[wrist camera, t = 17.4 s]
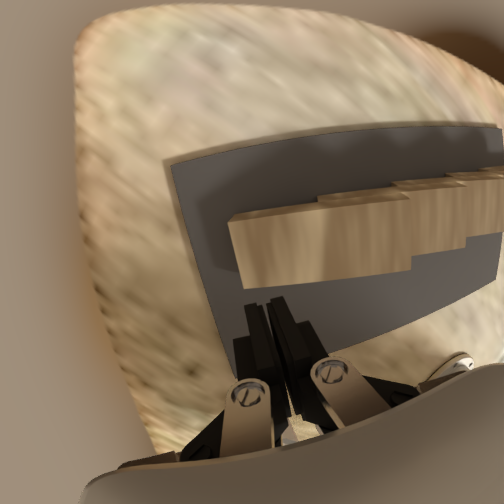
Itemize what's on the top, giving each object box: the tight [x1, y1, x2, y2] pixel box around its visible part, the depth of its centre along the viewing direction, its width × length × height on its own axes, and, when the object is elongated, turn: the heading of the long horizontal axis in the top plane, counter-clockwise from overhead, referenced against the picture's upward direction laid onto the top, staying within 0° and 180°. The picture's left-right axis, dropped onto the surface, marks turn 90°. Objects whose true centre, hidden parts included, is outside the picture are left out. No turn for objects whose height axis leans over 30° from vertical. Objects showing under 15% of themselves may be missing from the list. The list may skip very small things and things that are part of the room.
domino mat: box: [171, 126, 504, 379], centre depth 24 cm, size 20×36×1 cm, turn 102°
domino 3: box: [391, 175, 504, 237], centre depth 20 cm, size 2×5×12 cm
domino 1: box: [228, 193, 412, 289], centre depth 19 cm, size 2×5×12 cm
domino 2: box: [317, 182, 468, 256], centre depth 20 cm, size 2×5×12 cm
